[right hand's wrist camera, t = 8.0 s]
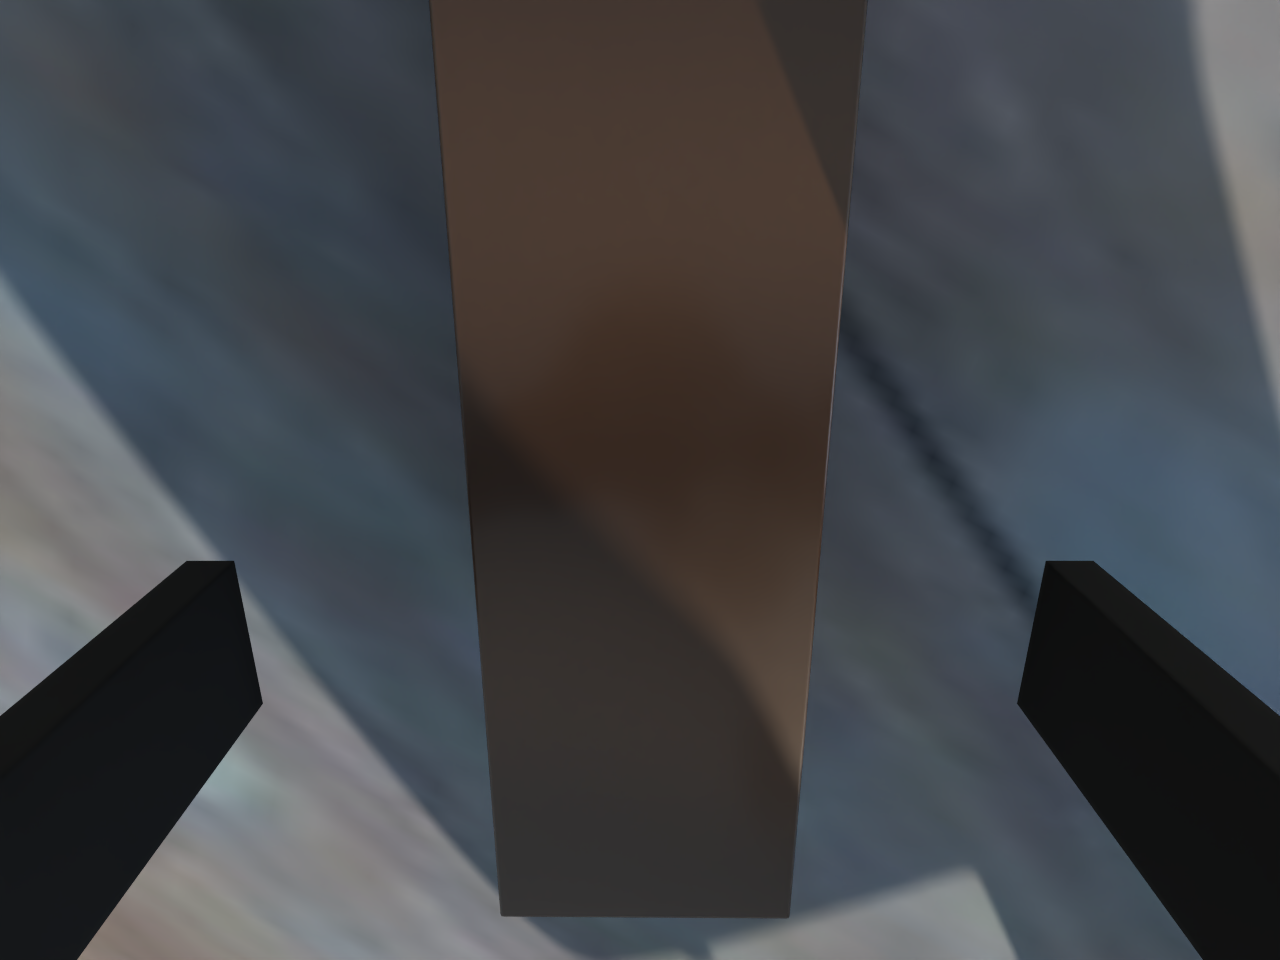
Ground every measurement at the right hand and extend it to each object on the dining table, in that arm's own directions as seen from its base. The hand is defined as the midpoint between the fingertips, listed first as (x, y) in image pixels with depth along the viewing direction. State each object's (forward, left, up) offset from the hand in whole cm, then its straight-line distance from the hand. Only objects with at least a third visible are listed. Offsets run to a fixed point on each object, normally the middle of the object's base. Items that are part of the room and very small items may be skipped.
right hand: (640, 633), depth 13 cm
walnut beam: (+8, +4, -8) cm, 12 cm away
